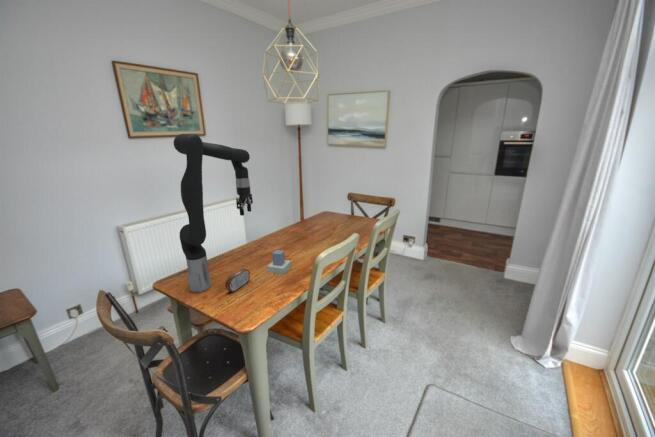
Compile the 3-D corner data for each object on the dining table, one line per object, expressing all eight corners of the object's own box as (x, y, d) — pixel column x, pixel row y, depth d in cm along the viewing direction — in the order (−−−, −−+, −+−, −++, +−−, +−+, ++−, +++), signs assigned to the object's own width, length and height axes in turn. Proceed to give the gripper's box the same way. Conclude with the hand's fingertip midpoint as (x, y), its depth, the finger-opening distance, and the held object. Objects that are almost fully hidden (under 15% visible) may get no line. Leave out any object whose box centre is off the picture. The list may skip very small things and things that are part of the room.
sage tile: (283, 275, 156) (283, 268, 154) (267, 272, 158) (267, 266, 157) (291, 267, 165) (290, 260, 164) (275, 265, 168) (275, 258, 166)
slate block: (281, 265, 157) (280, 254, 155) (272, 264, 159) (272, 253, 157) (284, 262, 162) (284, 250, 160) (276, 261, 163) (276, 250, 161)
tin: (247, 279, 151) (245, 265, 148) (251, 280, 149) (250, 266, 147) (225, 293, 138) (223, 278, 135) (230, 295, 137) (228, 279, 134)
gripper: (242, 188, 152) (245, 217, 157) (254, 183, 166) (257, 210, 170) (230, 188, 154) (233, 216, 159) (243, 183, 167) (246, 209, 172)
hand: (246, 213), depth 165 cm, fingers open, 8 cm apart
